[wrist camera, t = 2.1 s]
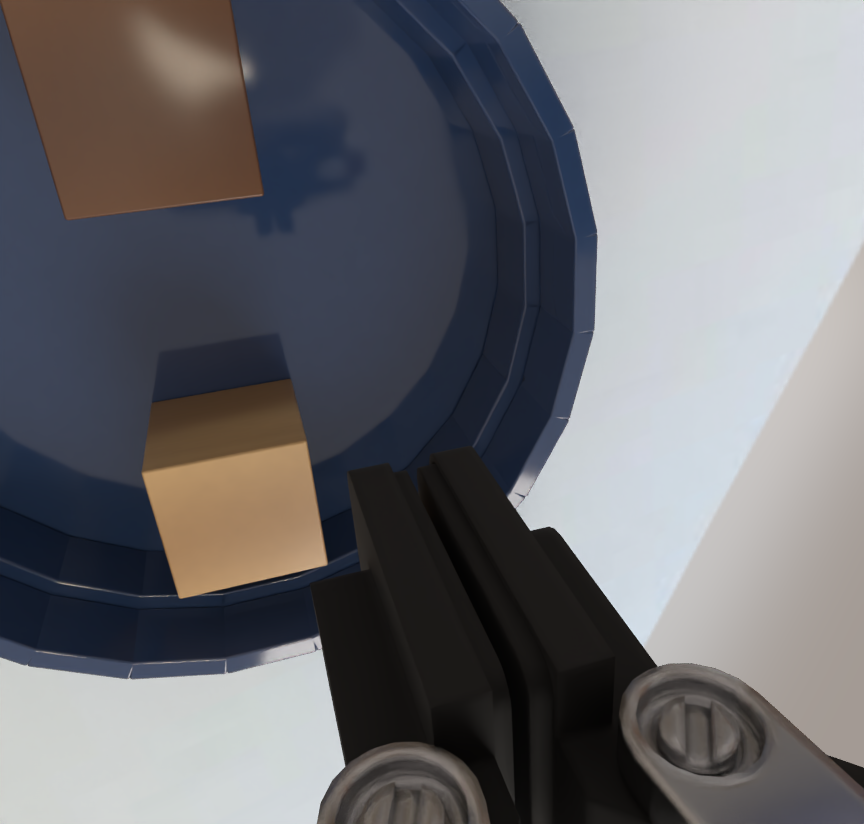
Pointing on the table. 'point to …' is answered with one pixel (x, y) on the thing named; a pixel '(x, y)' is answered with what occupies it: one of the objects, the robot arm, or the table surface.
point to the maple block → (232, 487)
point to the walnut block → (137, 102)
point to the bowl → (288, 317)
